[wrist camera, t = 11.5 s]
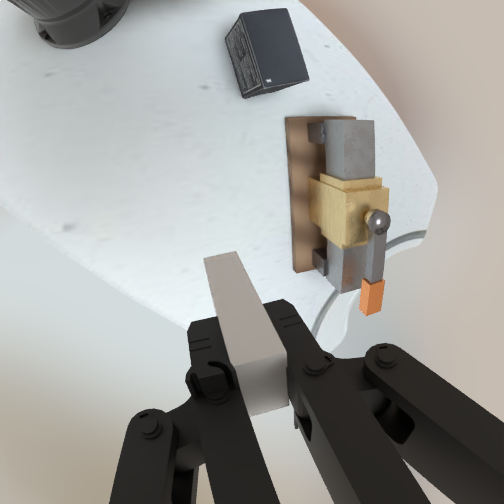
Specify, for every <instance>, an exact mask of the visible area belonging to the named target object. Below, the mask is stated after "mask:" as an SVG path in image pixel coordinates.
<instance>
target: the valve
mask: <svg viewBox="0 0 504 504" xmlns="http://www.w3.org/2000/svg"><path fill="white" fill-rule="evenodd" d="M307 126H308V141H309V142H312V143H319V144H325V149H326V173H320V176H311V177H308V202H309V219H310V220H311V221H312V222H314V223H315V224H316V225H318V226H319V227H321V234H322V235H324V236H325V237H326V238H327V246H326V247H321V248H316V249H312V265H313V266H314V267H315V268H316V269H317V270H318V271H319V272H320V273H321V274H322V275H323V277H324V276H326V279H327V280H328V281H329V282H330V283H331V284H332V285H333V286H334V287H335V288H336V289H337V290H338V291H339V292H340V294H342V293H346V292H349V291H353V290H356V289H360V288H361V286H362V278H365V271H366V258H367V242H368V229H367V227H366V225H365V220H366V216H367V214H368V213H369V212H370V211H371V210H373V209H380V210H382V211H384V212H386V213H388V203H389V188H387V187H384V186H382V178H381V177H378V176H375V133H374V121H373V120H324V123H307Z"/></svg>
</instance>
